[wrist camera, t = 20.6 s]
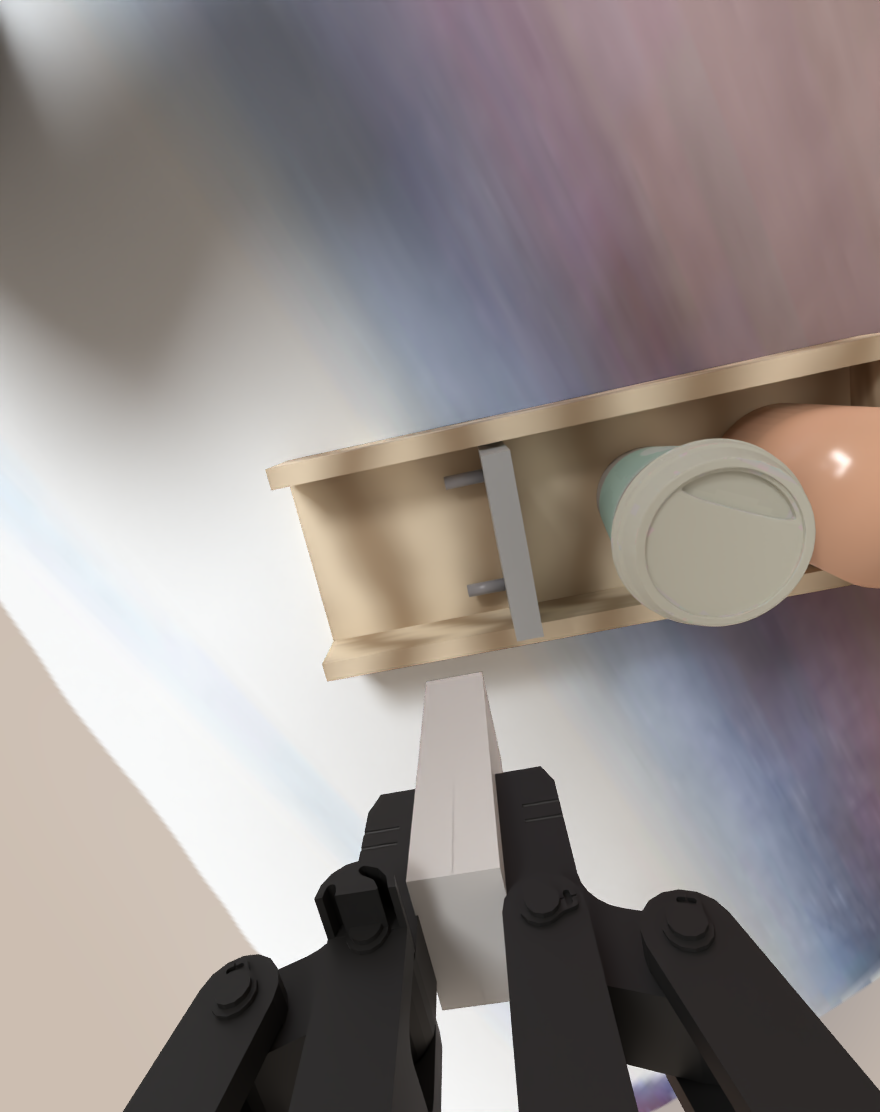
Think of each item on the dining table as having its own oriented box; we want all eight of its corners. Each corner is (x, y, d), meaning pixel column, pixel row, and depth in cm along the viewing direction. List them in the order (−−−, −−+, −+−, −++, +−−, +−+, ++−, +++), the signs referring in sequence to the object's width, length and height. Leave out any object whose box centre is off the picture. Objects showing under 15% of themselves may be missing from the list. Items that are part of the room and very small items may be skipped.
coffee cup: (743, 497, 36) (871, 550, 25) (632, 586, 38) (702, 675, 27) (656, 392, 35) (749, 397, 23) (545, 490, 37) (579, 540, 25)
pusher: (473, 610, 39) (475, 649, 33) (439, 453, 36) (435, 465, 30) (531, 599, 38) (543, 636, 33) (501, 440, 36) (509, 450, 30)
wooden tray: (341, 650, 41) (321, 693, 35) (287, 460, 38) (256, 473, 32) (865, 552, 38) (938, 580, 32) (859, 335, 35) (939, 324, 29)
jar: (714, 547, 37) (811, 604, 27) (701, 419, 35) (802, 432, 25) (843, 520, 37) (988, 568, 27) (839, 389, 34) (995, 390, 25)
